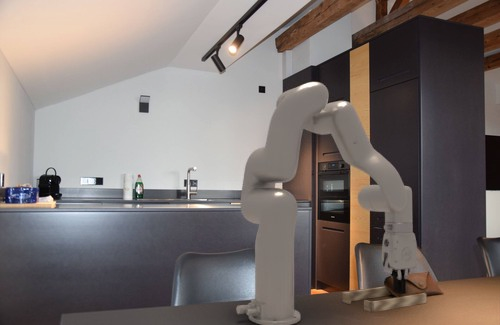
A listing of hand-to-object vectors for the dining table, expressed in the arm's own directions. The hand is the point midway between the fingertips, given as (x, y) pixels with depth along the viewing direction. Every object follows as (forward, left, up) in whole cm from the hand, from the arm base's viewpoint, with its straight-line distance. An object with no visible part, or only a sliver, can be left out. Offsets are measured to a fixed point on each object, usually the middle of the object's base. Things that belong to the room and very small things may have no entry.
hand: (399, 292), depth 123 cm
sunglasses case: (+9, +2, -3) cm, 10 cm away
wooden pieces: (-6, 0, -2) cm, 6 cm away
